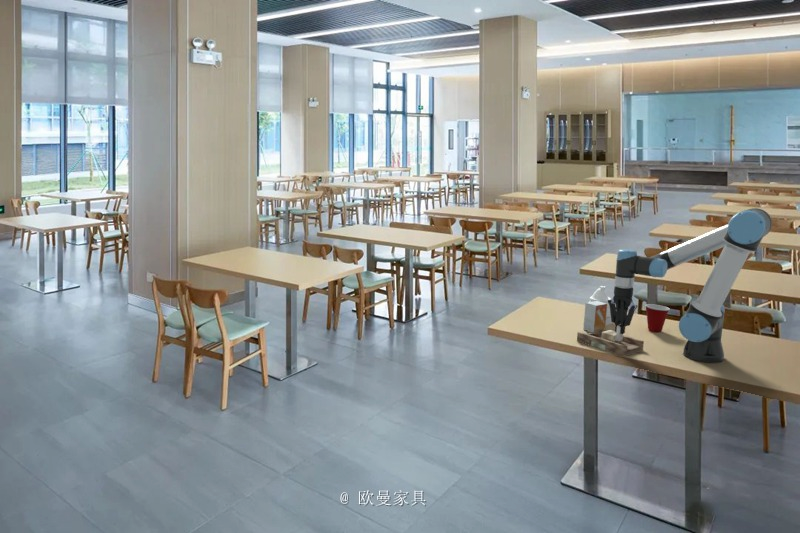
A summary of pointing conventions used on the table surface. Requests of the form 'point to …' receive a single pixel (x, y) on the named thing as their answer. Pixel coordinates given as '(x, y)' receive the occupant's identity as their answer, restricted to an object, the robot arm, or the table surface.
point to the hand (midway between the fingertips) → (619, 340)
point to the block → (610, 336)
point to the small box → (595, 315)
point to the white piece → (602, 297)
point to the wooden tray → (611, 343)
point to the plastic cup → (656, 317)
